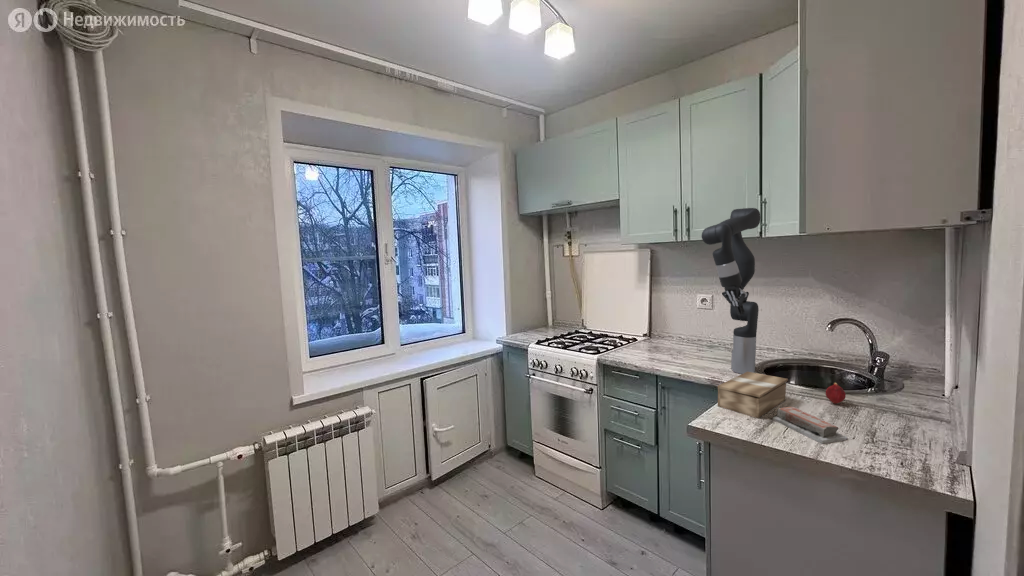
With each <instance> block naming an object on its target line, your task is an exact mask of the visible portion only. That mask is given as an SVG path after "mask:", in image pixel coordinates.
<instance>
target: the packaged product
mask: <svg viewBox="0 0 1024 576" xmlns="http://www.w3.org/2000/svg"><path fill="white" fill-rule="evenodd" d="M776 414H777V415H776V416H773V418H772V421H775V422H777V423H778V424H781V425H783V426H785V427H786V428H788V429H790V430H792V431H795V432H796V433H798V434H801V435H802V436H804V437H807V438H808V439H811V440H812V441H815V442H817V443H819V444H821V445H824V444H829V443H835V442H836V443H837V442H842V441H847V440H848V436H846V435H843V434H841V433H839V432H837V431H838V430H839V427H838V426H837V425H834V424H832V423H830V422H828V421H825V420H823V419H821V418H819V417H816V416H814V415H812V414H810V413H807V412H805V411H803V410H801V409H799V408H797V407H793V406H787V407H786V406H785V407H779V408H777V413H776Z"/></svg>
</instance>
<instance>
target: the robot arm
mask: <svg viewBox="0 0 1024 576" xmlns="http://www.w3.org/2000/svg"><path fill="white" fill-rule="evenodd" d="M760 223H761V212H760V210H759V209H758V208H755V207H747V208H745V207H743V208H735V209H734V208H733V210H731V213H730V218H727V219H725V220H723V221H720V222H719V223H716V224H714V225H711V226H708V227H705V228H704V229H703V230H702V232H701V240H702V241H703V242H704V244H706V245H709V246H710V245H715V244H719V243H721V247H719V248H717V249H715V250H713V251H712V259H713V261H714V264H715V268H716V272H717V276H718V279H719V282H720V286H721V287H723V288H724V291H723V292H722V293H721V294H722V296H723V298H725V300H726V301H727V302H728V303H729V305H730V309H729V314H730V317H731V319H732V320H734V321H740V322H746V323H747V324H746V325H744V326H739V327H735V328H733V331H732V333H733V335H732V336H733V338H732V349H731V363H730V369H731V370H732V371H733V372H734V373H737V374H739V375H741V374H743V373H745V372H753V373H756V359H757V358H756V356H757V355H756V354H757V332H758V319H759V311H760V310H759V305H758V302H756V301H749V300H748V298H749V295H750V292H748V291H744V290H745V287H746V286H747V285H748V284H749V282H750V281H751V280H752V278H753V277H754V275H755V272H756V271H755V270H756V259H755V256H754V253H752V251H751V249H750V248H749V247H748V245H747V244H746V243H745V240H744V239H743V235H742V232H744V231H747V230H753V229H755V228H757V227H758V226H760Z"/></svg>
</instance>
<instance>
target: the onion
mask: <svg viewBox="0 0 1024 576" xmlns="http://www.w3.org/2000/svg"><path fill="white" fill-rule="evenodd" d="M825 397H826V398H827V399H828V400H829V402H831V403H832V404H834V405H837V404H839V403H842V402H844V400H846V397H847V395H846V392H845V390H844V389H843V387H841V386H840V385H839V384H838V383H837V382H833V384H832V385H830V386H828V387H827V388H826V390H825Z"/></svg>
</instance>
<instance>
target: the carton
mask: <svg viewBox="0 0 1024 576" xmlns="http://www.w3.org/2000/svg"><path fill="white" fill-rule="evenodd" d="M786 395H787V382H785V383H784V384H782V385H780V386H778V387H777V388H775V389H773V390H772V391H770V392H768V393H767V394H765V395H763V396H762V397H755V396H751V395H747V394H742V393H738V392H733V391H729V390H724V389H720V388H718V387H717V407H718V408H722V409H724V410H725V409H726V410H729V411H732V412H734V413H739V414H741V415H745V416H747V417H752V418H755V419H760V418H761V417H763V416H764V415H766V414H767V413H769V412H770V411H773V409H775V408H777V407H778V406H780V405H781V404H783V403H784V402H786Z"/></svg>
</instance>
